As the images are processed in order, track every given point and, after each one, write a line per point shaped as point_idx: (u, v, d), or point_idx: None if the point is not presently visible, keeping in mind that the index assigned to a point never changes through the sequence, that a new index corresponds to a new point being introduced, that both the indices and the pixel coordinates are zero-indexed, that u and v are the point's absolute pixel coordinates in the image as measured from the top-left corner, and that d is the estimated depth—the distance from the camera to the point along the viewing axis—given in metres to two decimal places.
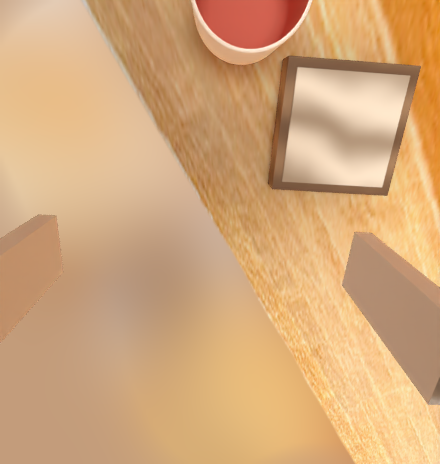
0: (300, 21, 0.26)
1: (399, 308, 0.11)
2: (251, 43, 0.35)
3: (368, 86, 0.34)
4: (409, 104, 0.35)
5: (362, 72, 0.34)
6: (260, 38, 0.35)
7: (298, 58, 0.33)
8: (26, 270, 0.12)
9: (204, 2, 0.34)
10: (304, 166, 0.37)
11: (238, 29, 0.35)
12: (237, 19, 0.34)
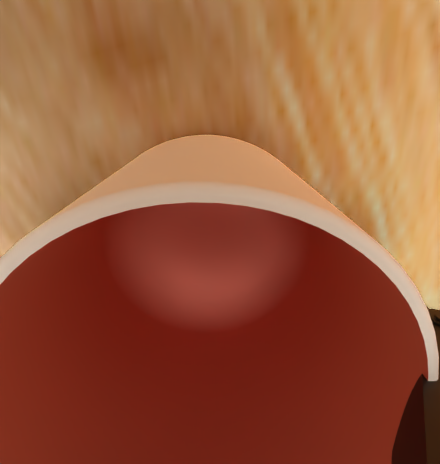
0: None
1: None
2: (229, 288, 0.17)
3: None
4: None
5: None
6: (248, 279, 0.17)
7: None
8: None
9: (125, 223, 0.15)
10: None
11: (201, 266, 0.16)
12: (198, 249, 0.16)
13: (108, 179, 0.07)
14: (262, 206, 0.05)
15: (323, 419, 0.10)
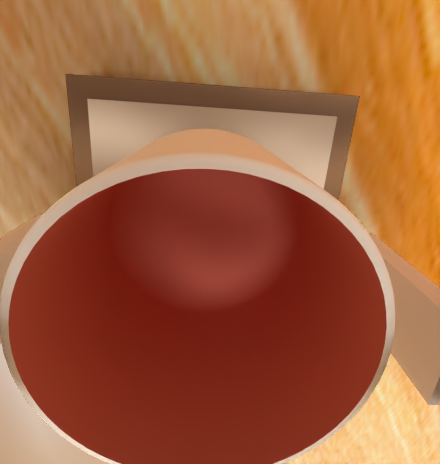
0: (344, 423, 0.09)
1: (399, 308, 0.11)
2: (227, 270, 0.18)
3: None
4: (340, 173, 0.17)
5: (233, 109, 0.16)
6: (244, 262, 0.18)
7: (87, 79, 0.15)
8: None
9: (129, 213, 0.17)
10: None
11: (200, 250, 0.18)
12: (197, 235, 0.17)
13: None
14: (241, 170, 0.07)
15: (310, 371, 0.11)
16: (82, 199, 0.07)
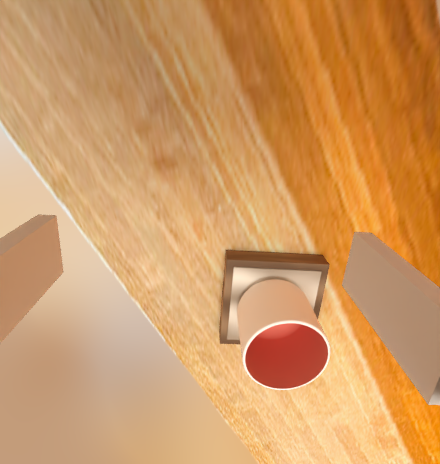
0: (319, 374, 0.38)
1: (399, 308, 0.11)
2: (279, 323, 0.47)
3: (289, 278, 0.44)
4: (323, 288, 0.45)
5: (284, 269, 0.44)
6: None
7: (234, 261, 0.43)
8: (26, 270, 0.12)
9: None
10: None
11: None
12: None
13: (265, 311, 0.37)
14: (298, 323, 0.35)
15: (311, 362, 0.40)
16: (267, 328, 0.35)
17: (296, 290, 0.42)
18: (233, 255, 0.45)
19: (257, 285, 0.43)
